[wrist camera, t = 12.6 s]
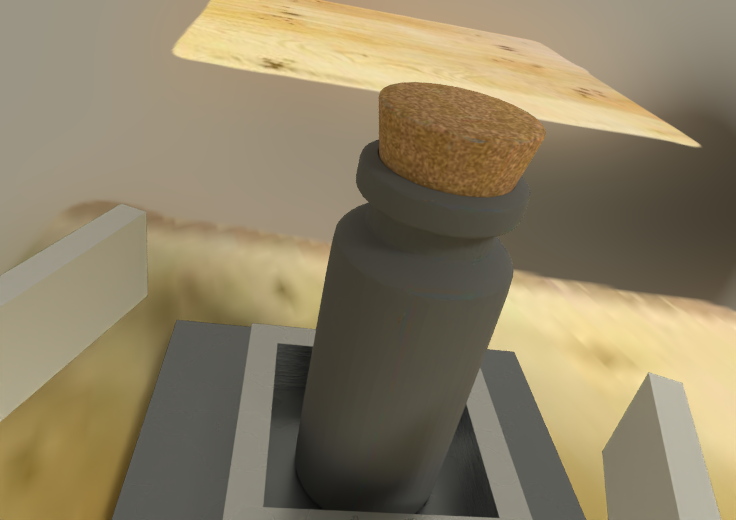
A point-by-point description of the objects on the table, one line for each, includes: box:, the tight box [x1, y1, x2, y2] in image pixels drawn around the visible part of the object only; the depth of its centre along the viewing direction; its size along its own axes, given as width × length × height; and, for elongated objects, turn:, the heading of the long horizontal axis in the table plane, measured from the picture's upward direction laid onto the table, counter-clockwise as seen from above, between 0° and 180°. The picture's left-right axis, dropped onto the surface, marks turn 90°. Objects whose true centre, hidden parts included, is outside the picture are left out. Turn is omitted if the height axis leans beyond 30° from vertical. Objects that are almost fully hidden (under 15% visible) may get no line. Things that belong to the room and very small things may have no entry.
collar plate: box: [112, 320, 586, 520], centre depth 24 cm, size 18×16×4 cm
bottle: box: [295, 82, 546, 514], centre depth 20 cm, size 6×6×15 cm
